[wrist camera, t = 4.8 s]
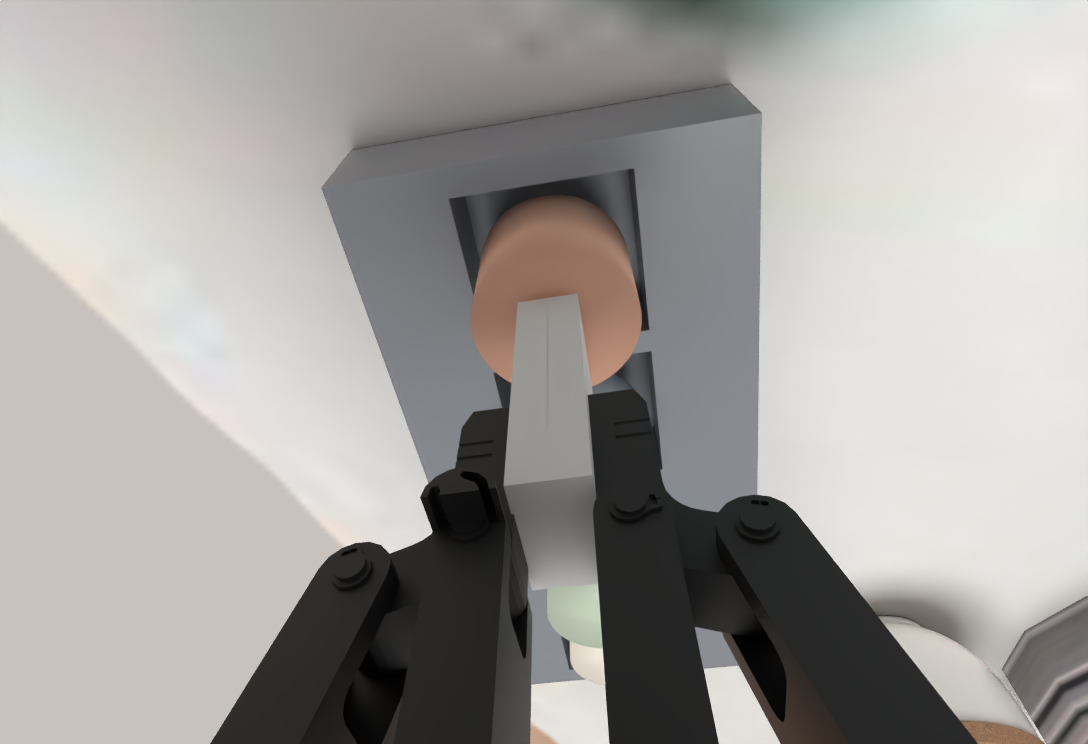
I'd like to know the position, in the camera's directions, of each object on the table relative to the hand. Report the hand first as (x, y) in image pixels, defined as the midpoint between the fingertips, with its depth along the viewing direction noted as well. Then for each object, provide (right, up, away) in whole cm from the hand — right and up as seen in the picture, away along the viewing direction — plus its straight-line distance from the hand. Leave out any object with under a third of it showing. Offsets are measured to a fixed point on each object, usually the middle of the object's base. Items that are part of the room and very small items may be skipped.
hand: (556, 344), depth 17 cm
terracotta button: (0, +3, +3) cm, 4 cm away
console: (+2, -3, +11) cm, 11 cm away
